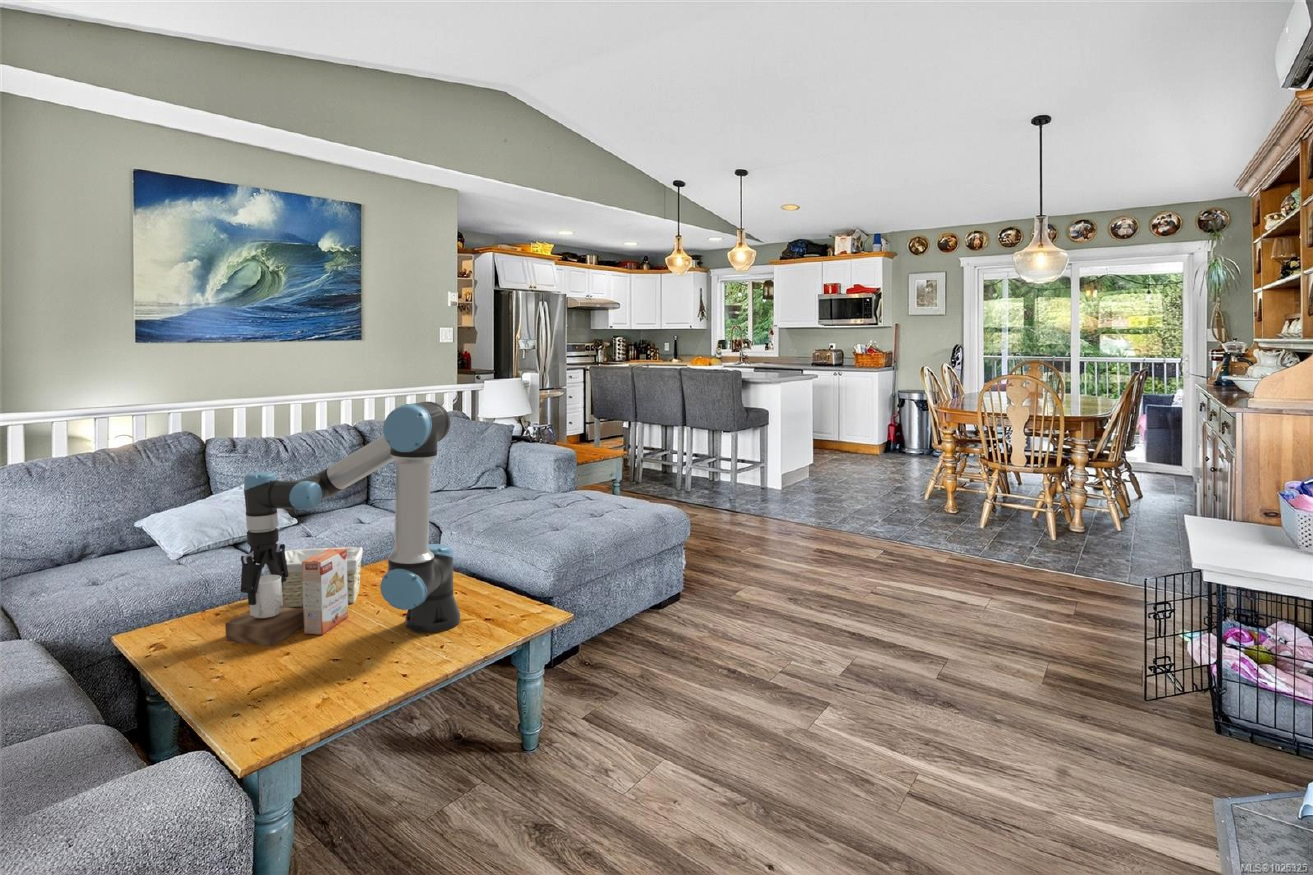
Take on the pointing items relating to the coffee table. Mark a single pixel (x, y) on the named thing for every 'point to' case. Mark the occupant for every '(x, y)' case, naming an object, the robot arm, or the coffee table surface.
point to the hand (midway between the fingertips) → (266, 609)
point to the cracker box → (324, 590)
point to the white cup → (269, 595)
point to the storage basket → (294, 580)
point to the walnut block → (265, 627)
